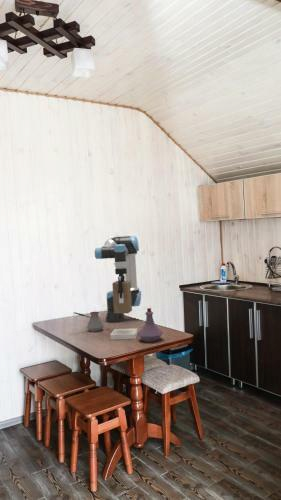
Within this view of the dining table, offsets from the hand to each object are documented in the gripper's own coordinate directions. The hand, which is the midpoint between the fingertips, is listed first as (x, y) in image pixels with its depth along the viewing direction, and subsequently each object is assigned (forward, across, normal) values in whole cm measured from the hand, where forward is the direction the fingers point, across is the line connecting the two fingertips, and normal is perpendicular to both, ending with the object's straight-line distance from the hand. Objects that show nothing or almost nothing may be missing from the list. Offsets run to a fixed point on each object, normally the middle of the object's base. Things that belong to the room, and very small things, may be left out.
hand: (122, 301), depth 285 cm
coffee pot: (+23, -16, -27) cm, 39 cm away
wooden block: (+7, 0, 0) cm, 7 cm away
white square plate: (+23, 0, 0) cm, 23 cm away
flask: (+23, +12, +18) cm, 32 cm away
